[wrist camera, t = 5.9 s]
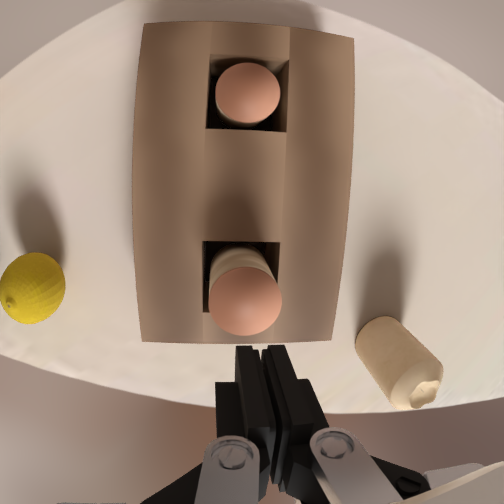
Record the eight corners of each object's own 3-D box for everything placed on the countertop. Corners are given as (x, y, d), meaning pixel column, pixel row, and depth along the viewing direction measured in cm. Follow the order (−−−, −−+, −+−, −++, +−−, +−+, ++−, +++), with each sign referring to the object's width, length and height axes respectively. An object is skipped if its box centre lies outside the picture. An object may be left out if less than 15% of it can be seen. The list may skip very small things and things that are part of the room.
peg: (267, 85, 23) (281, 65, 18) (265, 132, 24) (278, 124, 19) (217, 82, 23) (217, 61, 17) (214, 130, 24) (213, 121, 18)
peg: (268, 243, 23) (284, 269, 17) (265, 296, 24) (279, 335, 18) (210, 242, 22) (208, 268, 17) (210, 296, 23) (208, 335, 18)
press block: (326, 60, 23) (353, 38, 18) (310, 307, 29) (331, 340, 23) (158, 51, 22) (144, 23, 16) (155, 306, 28) (142, 341, 22)
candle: (381, 305, 30) (436, 357, 20) (408, 331, 31) (460, 382, 22) (344, 345, 31) (385, 408, 21) (374, 368, 32) (415, 426, 23)
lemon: (84, 258, 26) (43, 292, 18) (70, 308, 27) (33, 352, 19) (37, 232, 25) (-14, 257, 17) (25, 283, 26) (-19, 318, 18)
